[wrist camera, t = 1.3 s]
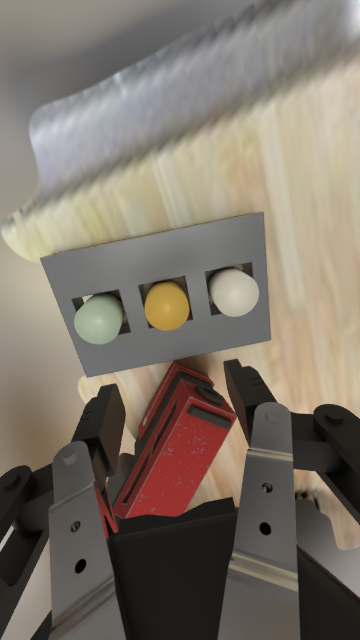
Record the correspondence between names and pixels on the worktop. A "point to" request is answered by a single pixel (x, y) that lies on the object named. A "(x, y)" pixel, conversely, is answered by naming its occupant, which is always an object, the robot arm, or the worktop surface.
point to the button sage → (99, 319)
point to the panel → (155, 265)
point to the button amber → (166, 305)
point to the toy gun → (171, 447)
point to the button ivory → (233, 291)
